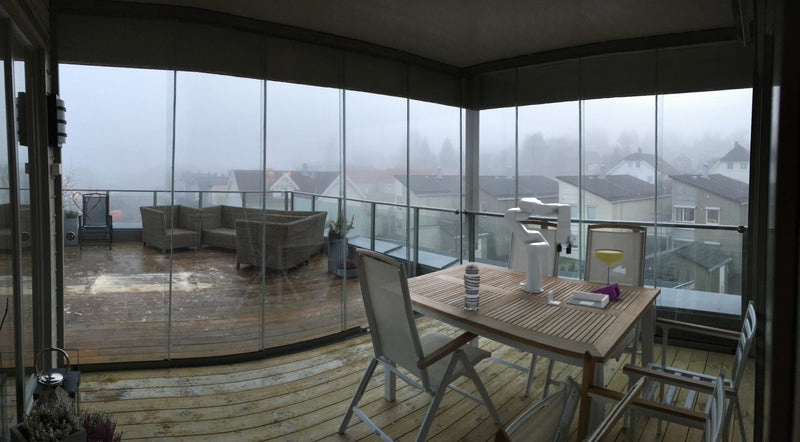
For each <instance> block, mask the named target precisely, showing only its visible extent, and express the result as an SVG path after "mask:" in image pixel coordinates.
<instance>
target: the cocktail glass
mask: <svg viewBox="0 0 800 442" xmlns="http://www.w3.org/2000/svg"><path fill="white" fill-rule="evenodd" d="M593 252H594V253H593V254H594V255H593V256H594V257H595V258H596V259H597V260H599V261H601V262H603V263H605V265H606V266H607V283H606V285H600V286H599V288H602V287H605V286H608V285H610V267H611V266H612V265H613V264H615V263H617V262H619V261H621V260H623V259H624V257H625V252H624V251H623V250H620V249H619V250H618V249H610V248H609V249H608V248H607V249H606V248H605V249H603V248H599V249H594V251H593ZM599 288H598V289H599Z"/></svg>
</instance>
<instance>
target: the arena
mask: <svg viewBox="0 0 800 442" xmlns="http://www.w3.org/2000/svg"><path fill="white" fill-rule="evenodd" d="M572 292H573V293H572V298H570V299H569V301H567V302H566V304H567V305H573V306H580V307H586V308H594V309H601V310H602V309H603V310H604V309H605V307H606V306H607V305H608V304H609V302H610V301H609V295H602V294H601V293H597V294H594V293H587V292H586V291H585V292H583V291H579V290H573V291H572Z"/></svg>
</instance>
